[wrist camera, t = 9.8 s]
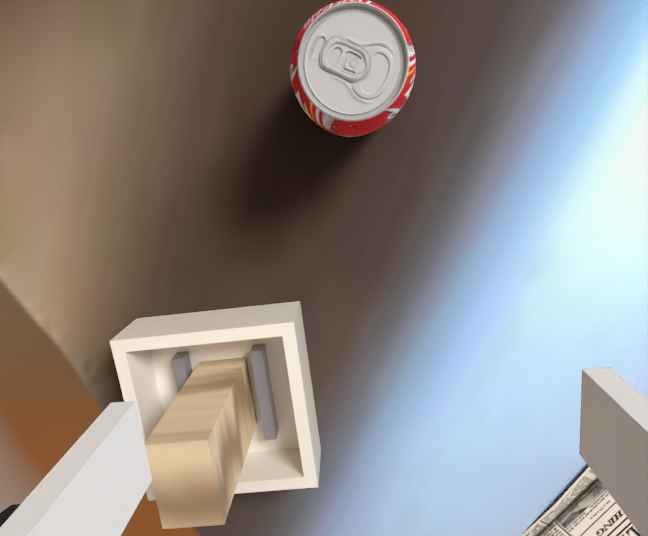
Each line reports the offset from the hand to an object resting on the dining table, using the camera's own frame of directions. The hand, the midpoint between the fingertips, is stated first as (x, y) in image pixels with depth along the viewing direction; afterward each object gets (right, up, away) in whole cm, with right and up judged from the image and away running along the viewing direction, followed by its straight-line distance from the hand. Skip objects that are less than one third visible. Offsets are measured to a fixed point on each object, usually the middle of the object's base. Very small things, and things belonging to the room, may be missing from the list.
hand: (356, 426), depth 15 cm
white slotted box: (-9, -6, +29) cm, 30 cm away
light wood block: (-9, -6, +28) cm, 30 cm away
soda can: (+1, +18, +22) cm, 29 cm away
